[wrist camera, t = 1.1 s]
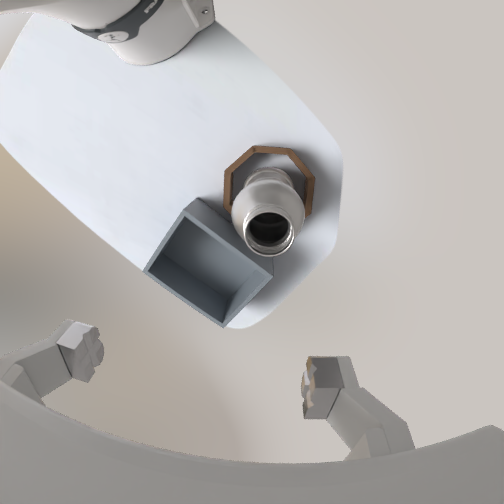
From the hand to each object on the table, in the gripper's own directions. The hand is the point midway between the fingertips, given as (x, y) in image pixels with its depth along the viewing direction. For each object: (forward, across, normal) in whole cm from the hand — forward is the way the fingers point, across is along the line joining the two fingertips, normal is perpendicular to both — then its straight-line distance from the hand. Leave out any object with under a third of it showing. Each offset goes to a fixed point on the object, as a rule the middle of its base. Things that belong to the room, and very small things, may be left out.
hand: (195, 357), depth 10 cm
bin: (+32, +5, +9) cm, 34 cm away
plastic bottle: (+32, -2, -1) cm, 32 cm away
